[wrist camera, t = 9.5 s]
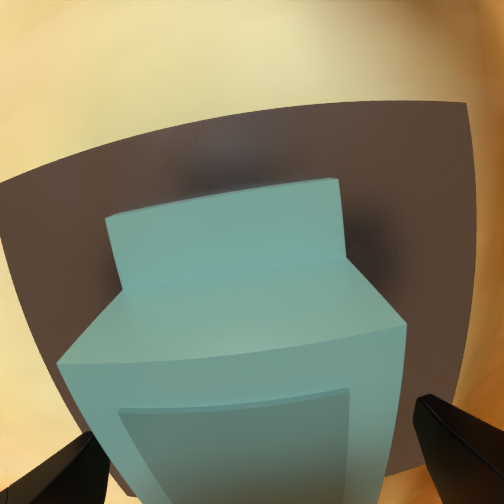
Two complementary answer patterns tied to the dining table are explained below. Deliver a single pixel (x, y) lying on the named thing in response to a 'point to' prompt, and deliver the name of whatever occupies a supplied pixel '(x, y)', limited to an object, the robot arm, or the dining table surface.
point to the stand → (259, 175)
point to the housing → (241, 354)
